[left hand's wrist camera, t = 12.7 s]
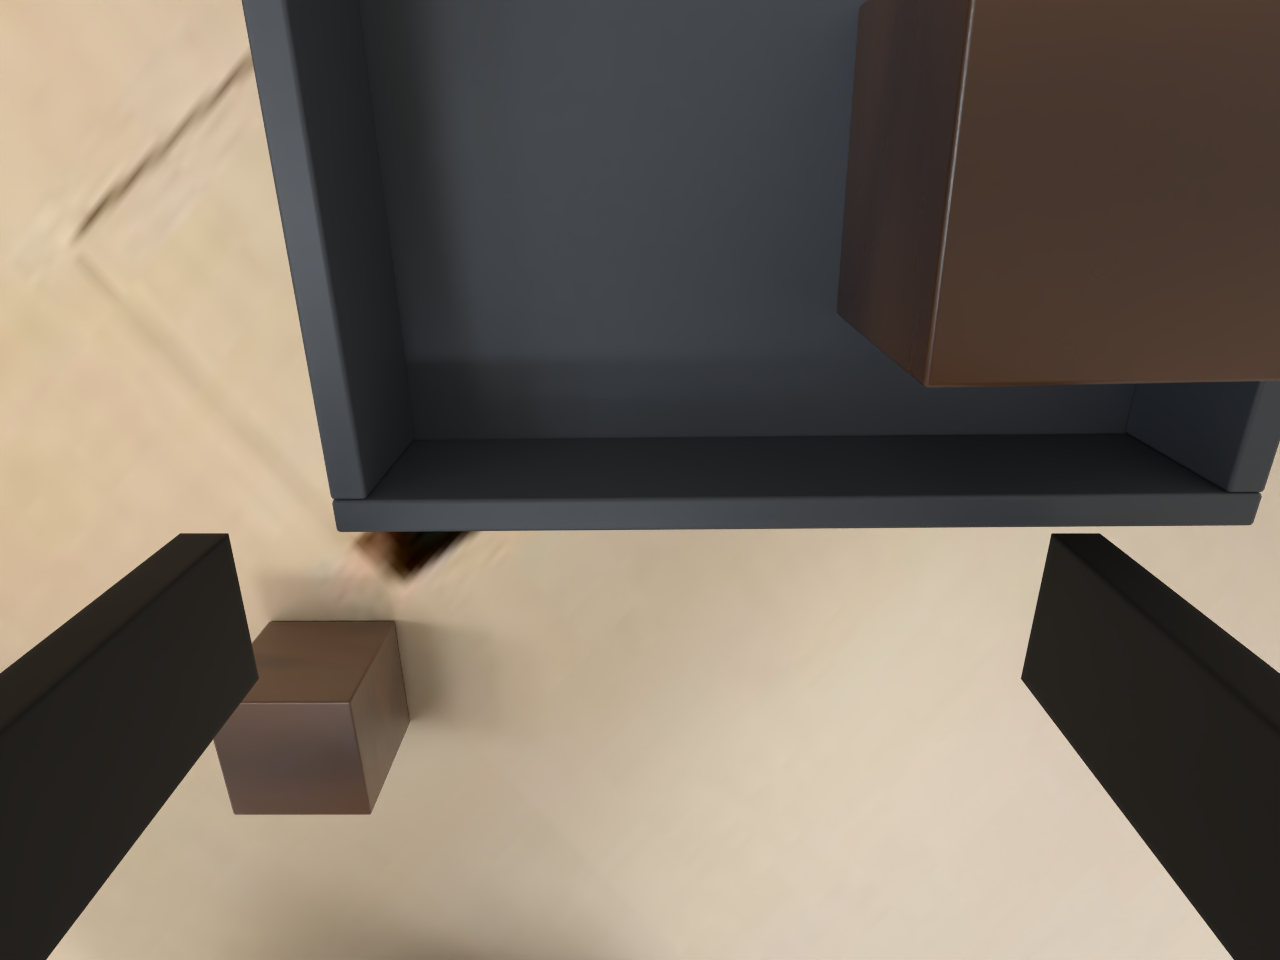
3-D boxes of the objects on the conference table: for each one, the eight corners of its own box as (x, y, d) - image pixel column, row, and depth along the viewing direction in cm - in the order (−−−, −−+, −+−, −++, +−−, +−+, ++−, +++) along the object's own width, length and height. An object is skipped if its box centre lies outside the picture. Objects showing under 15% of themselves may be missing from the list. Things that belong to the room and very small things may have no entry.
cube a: (1106, 309, 14) (1321, 381, 10) (835, 314, 15) (923, 389, 10) (1170, -4, 13) (1475, -96, 8) (858, 4, 13) (980, -83, 8)
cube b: (410, 722, 33) (371, 815, 28) (291, 722, 33) (233, 815, 28) (394, 620, 31) (350, 702, 26) (268, 621, 31) (202, 702, 26)
